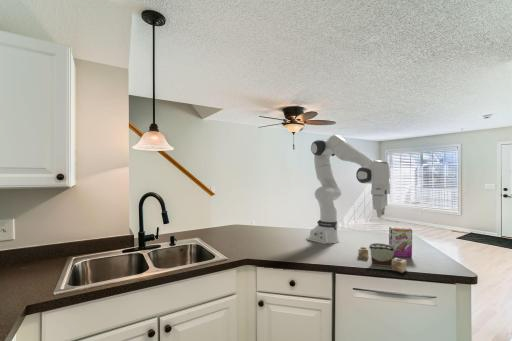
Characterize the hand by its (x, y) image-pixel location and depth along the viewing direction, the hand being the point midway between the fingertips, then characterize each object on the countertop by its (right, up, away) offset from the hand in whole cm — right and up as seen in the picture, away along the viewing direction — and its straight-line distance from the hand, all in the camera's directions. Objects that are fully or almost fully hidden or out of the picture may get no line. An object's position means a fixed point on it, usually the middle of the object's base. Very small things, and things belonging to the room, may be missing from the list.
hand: (380, 216), depth 134 cm
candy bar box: (+17, -26, +11) cm, 33 cm away
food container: (0, -26, 0) cm, 26 cm away
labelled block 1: (-5, -26, +10) cm, 28 cm away
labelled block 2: (+5, -26, -8) cm, 27 cm away
